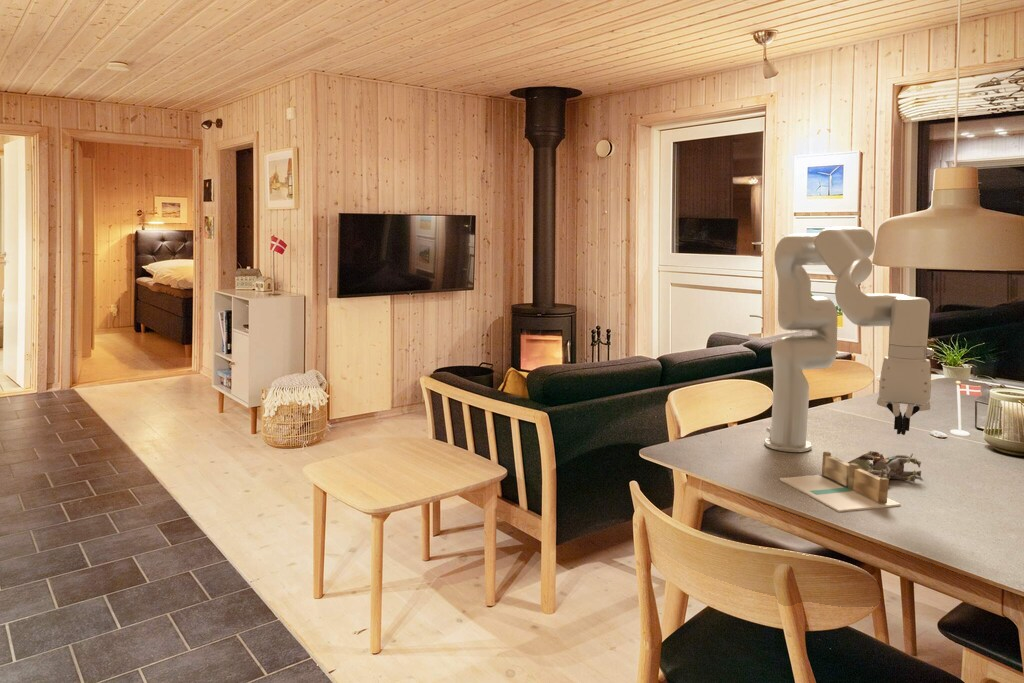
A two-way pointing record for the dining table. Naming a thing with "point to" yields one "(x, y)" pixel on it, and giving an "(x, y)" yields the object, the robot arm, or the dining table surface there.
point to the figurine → (887, 465)
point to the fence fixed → (838, 470)
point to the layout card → (834, 493)
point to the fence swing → (871, 485)
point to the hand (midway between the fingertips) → (901, 433)
